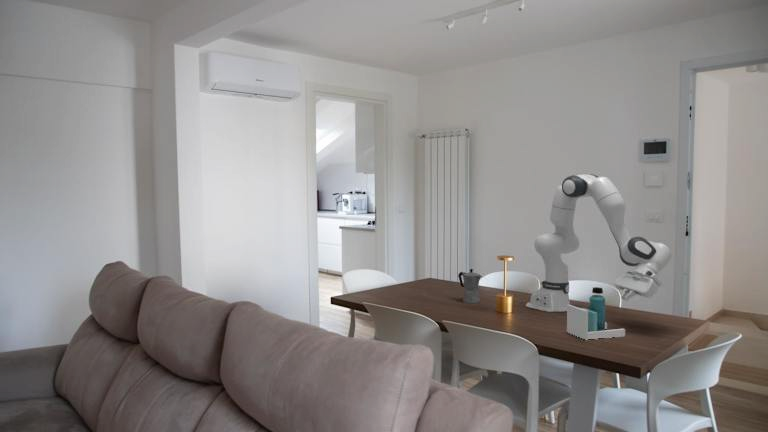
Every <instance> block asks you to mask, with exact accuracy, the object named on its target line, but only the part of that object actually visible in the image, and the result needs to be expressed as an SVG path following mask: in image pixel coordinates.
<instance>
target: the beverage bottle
mask: <svg viewBox="0 0 768 432" xmlns="http://www.w3.org/2000/svg"><path fill="white" fill-rule="evenodd" d="M591 290H592V291H591V292H592V294H593V295H591V296H589V306H588V310H591V311H594V312H596V313H597V331H603V330H605V322H606V298H605V297H604V295H600V294H603V293H604V291H603V287H592V289H591Z"/></svg>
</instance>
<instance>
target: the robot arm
mask: <svg viewBox="0 0 768 432" xmlns="http://www.w3.org/2000/svg"><path fill="white" fill-rule="evenodd" d="M586 197H587V198H588V197H591V198H592V199H593V200H594V202H595V204H596V205H597V208H598V209H599V211H600V212H601V214H602V216H603V219H604V220H605V222H606V223H607V226H608V227H609V229H610V232H611V234H612V236H613V238H614V240H615V242H616V244H617V246H618V251H619V258H620V260H621V262H622V263H623V264H625V265H626V266H629V267H635V268H634V269H633V270H632V272H631V271H627V272H624V273H622V274H620V276H619V277H617V278H616V279H615V281H614V282H613V285H614V287H616V289H617V290H621V291H622V294H621V296H620V298H621V300H623V301H624V300H625V301H626V302H627V301H630V299H631V298H633V297H635V296H636V295H637V296H641V297H645V298H647V299H650V298H652V297H653V296H654V295H655V294H656V293H657V292H658V290H659V288H660V287H662V286H663V282H662V281H661V279H660V278H659V274H660V272H663V270H664V269H665V268H666V267H667V266H668V264H669V263H670V262H671V259H672V257H673V254H672V253H673V252H672V250H671V249H670V248H669V246H668V245H667V244H665V243H663V242H655V241H650V240H648V239H645V238H644V237H643V236H634V237H631V236H630V233H629V231H628V230H627V228H626V226H625V213H626V203H625V200H624V198H623V196H622V195H621V192H620V191H619V190H618V188H617V187H616V186H615V184H614V183H613V182H612V181H611V180H610V179H609V178H608V177H606V176H598V175H595V174H592V173H590V174H586V173H582V174H577V175H575V174H574V175H569V176H567V177H565V179H564V180H562V183H561V185H558V187H557V188H556V191H555V194H554V195H553V200H552V204H551V211H550V215H549V221H550V222H551V224H552V225H554V232H549V233H542V234H539V235H538V236H536V237H535V239H534V248H535V251H536V252H537V253H538V254H539V255H540V256H541V259H542V260H543V263H544V270H545V272H544V273H545V276H544V277H545V280H543V281H541V282H540V285H542V286H541V287H540V288H539V289H537V290H536V291H534V292H533V293H532V294H531V296H530V302H529V301H528V302H527V303H526V304H525V307H527V308H529V309H530V308H531V309H535V310H539V311H544V312H547V313H552V312H561V313H562V312H567V305H571V302H570V296H569V293H570V281H569V266H568V264H566V262H564V261H563V258H562V255H563V254H570V253H573V252H575V251H577V250H578V249H579V247H580V238H579V236H578V235H577V234H576V233H575V229H574V218H575V211H576V206H577V201H578V199H579V198H582V199H583V198H586ZM561 254H562V255H561Z"/></svg>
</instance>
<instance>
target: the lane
mask: <svg viewBox="0 0 768 432" xmlns="http://www.w3.org/2000/svg"><path fill="white" fill-rule="evenodd" d="M581 308H582V307H577V306H574V305H572V304H570V305H567V311H566V333H567V332H568V333H567V334H569V333H570V334H569V335H572V334H573V335H572V336H574V335H575V336H574V337H576V336H577V338H578V337H580V338H579V339H581V338H582V339H581V340H583V339H585V340H584V341H589V340H588V339H595V340H599V339H598V338H605V339H613V338H612V337H615V338H623V337H624V338H625V337H626V329H625V328H617V329H608V322H607V321H605V329H607V330H603V331H593V332H588V311H586V310H584V309H581Z"/></svg>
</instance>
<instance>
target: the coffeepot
mask: <svg viewBox="0 0 768 432" xmlns="http://www.w3.org/2000/svg"><path fill="white" fill-rule="evenodd" d="M473 270H474V269H473V268H471V269H469V272H463V271H460V272H459V273H458V274H457V275H458V276H457V277H458V280H459V285H460V287H463V288H465V289H464V292H463V298H462V302H463V303H464V304H465V303H466V304H478V303H480V301H481V300H480V293H479V290H478V289H479V288H478V287H479V285H480V280H481V278H482V275H481V274H480V273H476V272H474V271H473Z"/></svg>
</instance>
